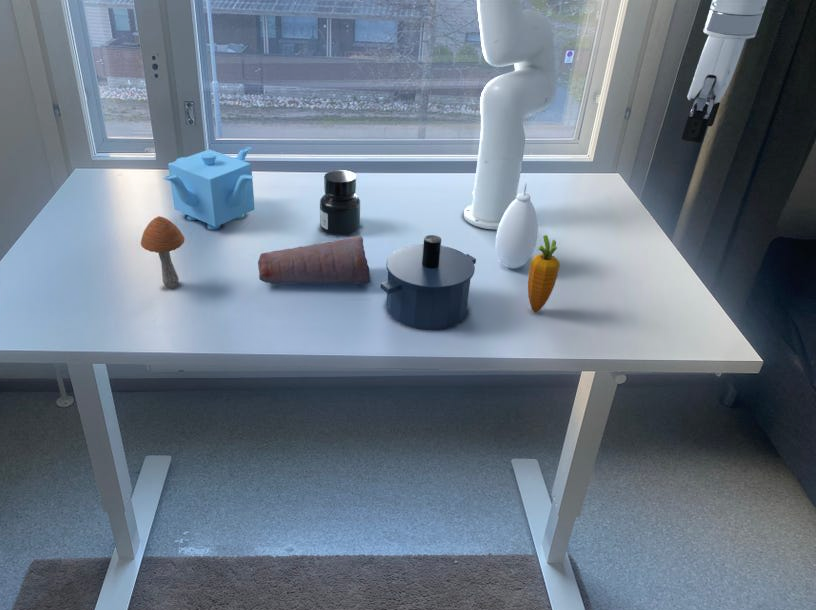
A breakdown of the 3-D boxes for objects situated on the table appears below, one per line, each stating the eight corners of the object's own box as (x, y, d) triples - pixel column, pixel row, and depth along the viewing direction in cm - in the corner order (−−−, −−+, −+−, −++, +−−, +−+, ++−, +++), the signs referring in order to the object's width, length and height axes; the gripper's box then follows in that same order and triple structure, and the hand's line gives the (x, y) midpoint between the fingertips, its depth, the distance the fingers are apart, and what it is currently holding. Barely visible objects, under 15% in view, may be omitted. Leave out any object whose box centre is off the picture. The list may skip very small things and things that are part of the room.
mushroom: (155, 302, 132) (142, 229, 123) (144, 282, 137) (131, 211, 128) (196, 291, 134) (186, 219, 126) (183, 273, 140) (173, 203, 131)
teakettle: (179, 201, 168) (170, 140, 159) (257, 199, 169) (253, 138, 160) (171, 237, 153) (160, 172, 144) (257, 234, 154) (252, 169, 145)
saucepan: (359, 305, 131) (360, 265, 126) (442, 276, 139) (446, 237, 134) (407, 343, 121) (410, 301, 116) (493, 309, 130) (500, 269, 125)
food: (363, 267, 142) (364, 227, 137) (371, 291, 135) (373, 250, 130) (258, 273, 140) (255, 233, 135) (260, 298, 132) (258, 256, 127)
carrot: (549, 321, 127) (566, 246, 118) (521, 318, 127) (535, 243, 118) (548, 306, 130) (564, 233, 121) (521, 303, 131) (535, 230, 122)
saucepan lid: (369, 263, 127) (370, 232, 124) (435, 242, 134) (438, 212, 130) (422, 302, 117) (425, 269, 113) (492, 276, 124) (497, 245, 120)
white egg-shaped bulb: (535, 262, 144) (551, 178, 133) (525, 279, 138) (541, 193, 128) (498, 254, 147) (511, 171, 136) (486, 270, 141) (499, 185, 131)
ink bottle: (327, 216, 162) (326, 165, 154) (364, 220, 160) (365, 169, 152) (314, 234, 154) (313, 182, 147) (353, 239, 152) (354, 187, 145)
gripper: (715, 11, 117) (684, 115, 127) (695, 31, 105) (662, 143, 116) (765, 17, 114) (729, 122, 124) (750, 37, 102) (711, 152, 112)
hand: (697, 132), depth 120 cm, fingers open, 9 cm apart
